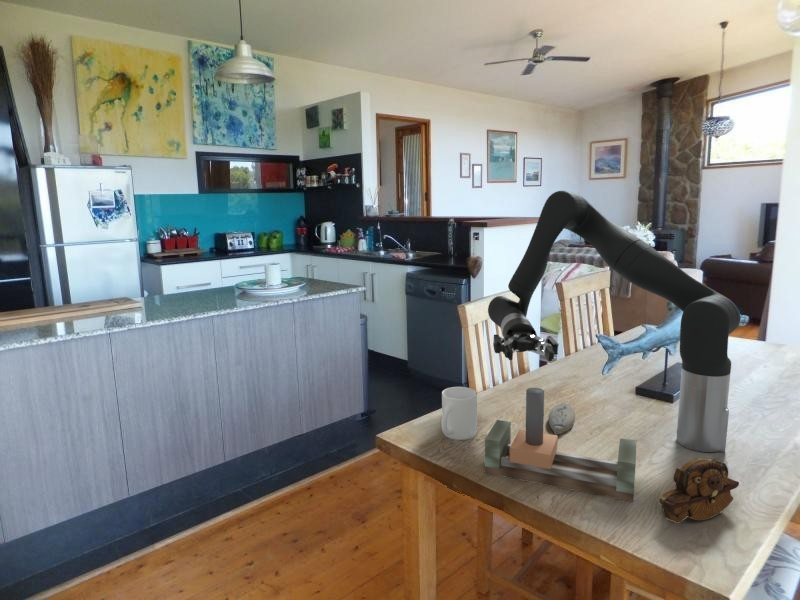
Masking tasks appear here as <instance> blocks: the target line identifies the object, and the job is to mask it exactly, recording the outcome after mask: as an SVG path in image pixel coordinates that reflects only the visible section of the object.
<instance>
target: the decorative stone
mask: <svg viewBox="0 0 800 600" xmlns="http://www.w3.org/2000/svg"><path fill="white" fill-rule="evenodd" d="M547 420H548V423H549V426H550V428H551V430H552V432H553V433H554V435H561V434H562V433H563V434H564V433H566V432H567V431H569V430H570V429H572V427H573V426H574V423H575V420H576V413H575V410H574V408H573V406H572V405H571V404H570V403H569V404H568V403H566V402H565V403H563V402H562V403H558V404H557V405H555V406H554V407H553V408H552V409H551V410H550V411H549V413H548V419H547Z"/></svg>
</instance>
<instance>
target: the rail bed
mask: <svg viewBox="0 0 800 600" xmlns="http://www.w3.org/2000/svg"><path fill="white" fill-rule="evenodd" d="M511 422H512V421H508V420H502V419H501V420H500V419H497V420H495V423H494V424H493V426H492V427H491V429H490V430H489V432H488V433H487V435H486V437H485V438H484V473H485V474H489V475H493V476H499V477H504V478H508V479H515V480H519V481H526V482H530V483H536V484H541V485H545V486H549V487H556V488H561V489H566V490H572V491H576V492H577V491H578V492H582V493H585V494H586V493H587V494H592V495H595V496H596V495H598V496H602V497H607V498H613V499H617V500H623V501H628V502H634V501H635V500H634V496H635V495H634V494H635V483H636V482H635V480H636V467H637V466H636V464H637V463H636V459H637V440H636V439H635V440H634V439H629V438H621V437H620V438H619V445H618V446H619V447H618V457H617V461H613V460H606V459H601V458H595V457H590V456H589V457H588V456H582V455H577V454H572V453H571V454H570V453H565V452H559V451H556V454H555V457H554V460H553V463H552V466H551V469H547V468H541V467H536V466H530V465H525V464H519V463H513V462H510V447H511V445H512V442H511V441H512V440H511V439H512V438H511V437H512V436H511V433H512V432H511V431H512V430H511V428H512V425H511V424H512V423H511Z"/></svg>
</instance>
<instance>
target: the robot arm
mask: <svg viewBox="0 0 800 600" xmlns="http://www.w3.org/2000/svg"><path fill="white" fill-rule="evenodd" d="M564 229H565V230H568V231H570V232H571V233H573V234H576V235H577V236H578V237H580V238H581V239H583V240H585V241H586V242H588V243H589V244H590V245H591V246H592V247H593V248H594V249H595V251H596V252H597V253H598V254H599V256H600V258H602V260H603V261H604V263H605V264H606V265H608V266H609V267H610V268H611V269H612V270H613V271H615V273H617V274H618V275H619V276H621V277H622V278H623V279H624V280H626V281H627V282H629V283H631V284H632V285H634V286H636V287H638V288H641V289H642V290H645V291H647V292H649V293H651V294H654V295H657V296H659V297H661V298H662V299H665V300H667V301H668V302H670V303H672V304H673V305H674V306H676V307H677V308H678V309H680V310H681V311H682V313H681V319H680V328H679V330H680V331H679V355H680V358H681V370H680V371H681V374H680V384H679V385H680V386H679V387H680V388H679V399H678V414H677V423H676V424H677V426H676V427H677V428H676V441H677V442H678V444H680V445H681V446H683V447H685V448H687V449H691V450H693V451H696V452H701V453H703V452H704V453H716V452H722V453H726V449H727V448H726V447H727V437H728V427H729V426H728V425H729V413H730V411H729V410H730V409H729V407H728V405H729V404H728V403H729V393H730V382H731V370H732V361H731V359H730V358H729V357H728V347H729V335H730V334H733V332H734V331H735V330H737V328H738V327H739V325H740V323H741V313H740V309H739V308H738V307H737V305H736V304H735V303H734V302H733V301H732V300H731V299H730V298H728V297H726V296H725V295H723V294H721V293H719V292H717V291H716V290H714V289H712V288H711V287H709V286H707V285H706V284H704V283H702V282H701V281H698V280H697V279H695V278H693V277H692V276H691V275H689V274H688V273H686V272H685V271H684V270H682V268H680V267H679V266H677V264H675V263H674V262H672V261H671V260H669V259H668V258H667V257H665V256H664V255H663V254H661V253H660V252H659V251H657V250H656V248H654V247H652V246H651V245H650V244H648V243H646V242H645V241H644V240H643V239H641V238H640V237H638V236H636V235H635V234H633V233H632V232H630V231H629V230H627V229H625V228H623V227H622V226H621V225H619V224H617V223H615V222H613V221H611V220H609V218H607V217H606V216H605V215H603V214H602V213H601V212H600V211H599V210H598V209H597V208H595V207H594V205H592V204H591V203H590V202H589V200H587V199H586V198H584V197H583V196H582V195H580V194H579V193H578V194H577V193H575V192H572V191H568V190H558V191H554V192H552V193H551V194H550V195H549V196H548V197H547V199H546V201H545V202H544V204H543V207H542V210H541V211H540V214H539V218H538V221H537V223H536V226H535V228H534V231H533V234H532V236H531V238H530V241H529V243H528V246H527V248H526V251H525V253H524V254H523V257H522V259H521V260H520V263H519V264H518V265H517V268H516V270H515V271H514V273H513V274H512V277H511V278H510V281H509V282H508V290H509V291H510V292H511V293H512V294H513V295H515V296H516V297H517V298H519V300H518V302H517V301H515V300H512V299H510V298H507V297H506V296H503V295H499V296H496V297H495V296H494V298H493V299H491V300H490V302H489V304H488V308H487V313H488V317H489V319H490V320H491V321H492V322H493V323H494V324H495V325H496V326H498V327H499V328H500V330H501V336H500V335H499V334H493V343H492V344H493V345H492V347H493V351H494V353H495V354H500V353H502V354H503V355H504V357H505V358H506V359H508V360H509V361H513V356H514V354H515V353H523V352H524V353H525V352H532V353H534V354H537V355H544V357H545V359H546V360H547V362H553V361H552V360H554V359H555V356H557V355H558V354H559V353H558V351H559V343H558V342H557V340H556V339H554V337H553V336H552V335H547V336H546V338H541V337H540V336H539V335H538V334H537V331H536V330H535V328H534V327H533V325H532V323H531V322H530V320H529V319H528V317H527V315H528V310H529V306H530V302H531V301H532V300H531V299H532V297H533V294H534V292H535V291H536V289H537V287H538V286H539V284H540V282H541V281H542V279H543V277H544V276H545V273H546V269H547V266H548V261H549V257H550V254H551V251H552V249H553V248H552V247H553V245H554V244H555V242H556V240H557V238H558V236H559V235H560V234H561V233H563V232H562V231H563V230H564ZM544 347H545V348H544Z"/></svg>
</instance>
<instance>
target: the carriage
mask: <svg viewBox="0 0 800 600" xmlns="http://www.w3.org/2000/svg"><path fill="white" fill-rule="evenodd" d="M525 391H526V393H525V430H523V429H519V430H518V432H517V434H516V436H515V437H514V438H513V441H512V442H511V444H512V445H511V447H510V462H513V463H519V464H525V465H530V466H536V467H541V468H547V469H551V466H552V463H553V460H554V457H555V454H556V452H558V434H550V433H549V434H548V433H544V426H545V425H544V419H545V418H544V417H545V413H544V412H545V390H544V389H542V388H539V387H529V388H527V389H526V390H525Z"/></svg>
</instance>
